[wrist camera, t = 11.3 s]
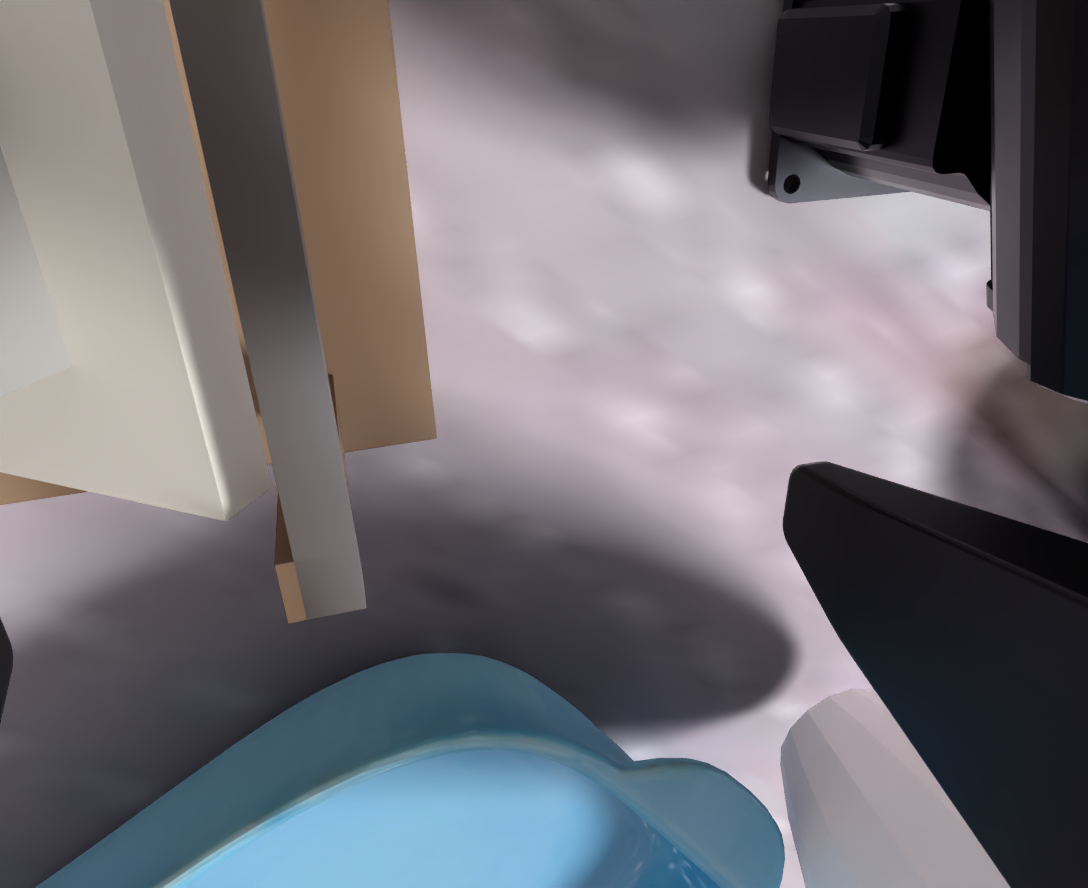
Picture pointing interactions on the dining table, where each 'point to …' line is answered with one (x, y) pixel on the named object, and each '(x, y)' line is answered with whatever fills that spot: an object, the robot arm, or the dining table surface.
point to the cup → (872, 804)
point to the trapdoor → (122, 267)
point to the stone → (24, 303)
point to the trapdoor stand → (307, 258)
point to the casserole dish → (439, 799)
